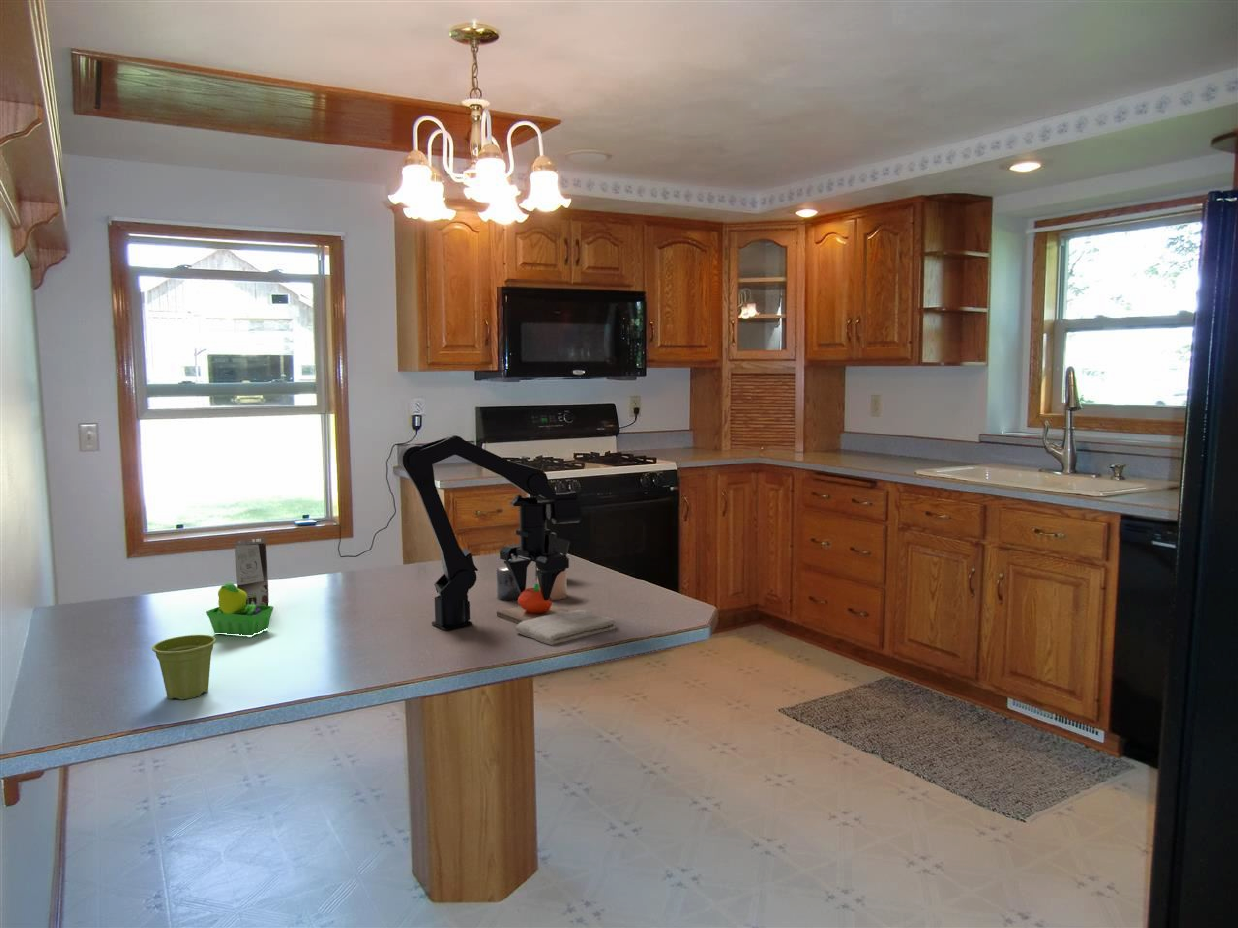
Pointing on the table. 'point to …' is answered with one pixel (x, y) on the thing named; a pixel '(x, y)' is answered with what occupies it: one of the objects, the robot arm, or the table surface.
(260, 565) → the coffee box
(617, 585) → the table surface
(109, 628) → the table surface
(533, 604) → the pumpkin
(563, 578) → the terracotta cup
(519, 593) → the black metal can
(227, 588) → the fruit basket
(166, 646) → the plant pot
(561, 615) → the washcloth
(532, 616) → the walnut board
